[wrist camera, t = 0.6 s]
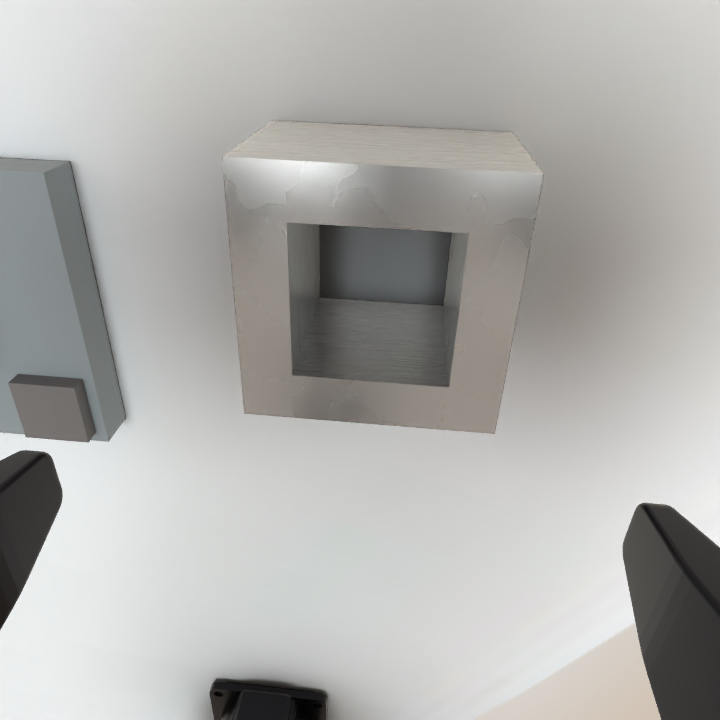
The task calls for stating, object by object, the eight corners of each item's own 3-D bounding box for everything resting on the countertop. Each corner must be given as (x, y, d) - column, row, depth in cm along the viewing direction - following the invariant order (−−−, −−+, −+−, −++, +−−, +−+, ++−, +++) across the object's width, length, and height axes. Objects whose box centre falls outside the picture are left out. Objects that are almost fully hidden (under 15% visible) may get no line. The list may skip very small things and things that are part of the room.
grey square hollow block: (479, 344, 20) (494, 433, 16) (281, 330, 21) (244, 413, 16) (512, 132, 17) (543, 173, 12) (272, 120, 17) (221, 156, 13)
